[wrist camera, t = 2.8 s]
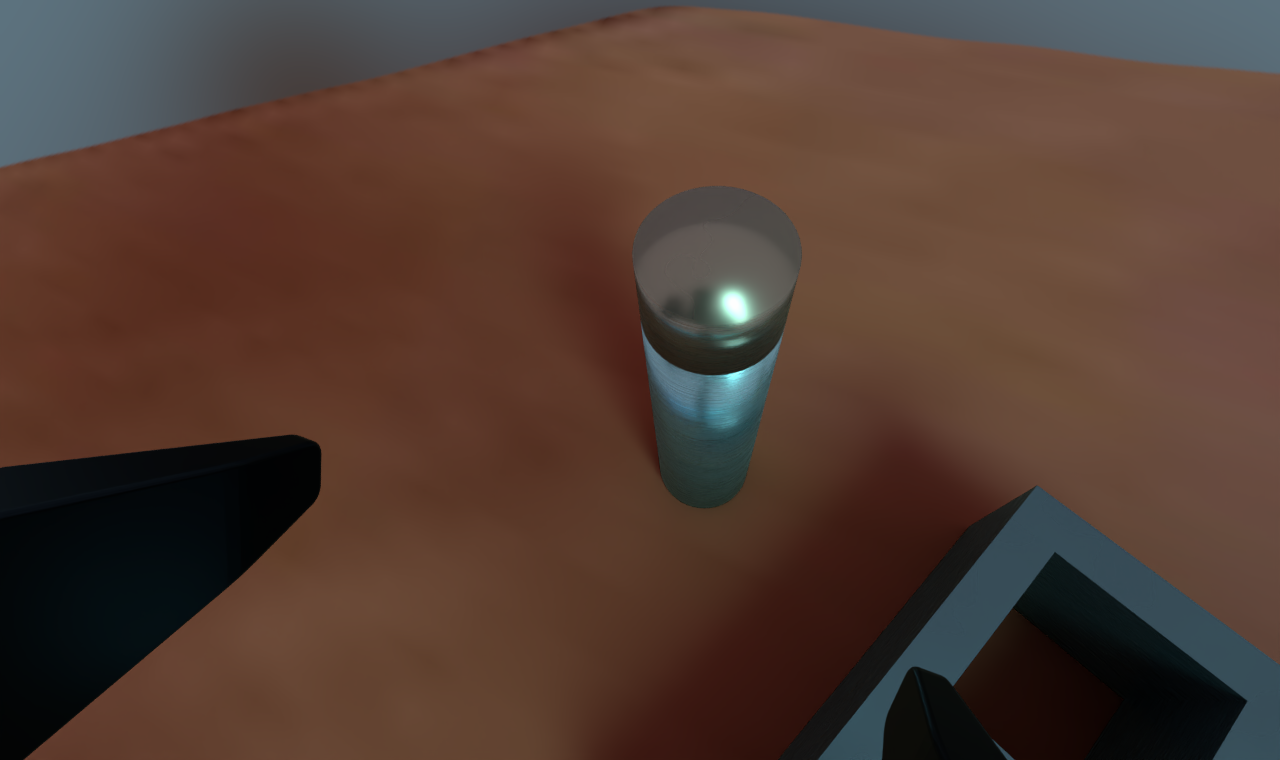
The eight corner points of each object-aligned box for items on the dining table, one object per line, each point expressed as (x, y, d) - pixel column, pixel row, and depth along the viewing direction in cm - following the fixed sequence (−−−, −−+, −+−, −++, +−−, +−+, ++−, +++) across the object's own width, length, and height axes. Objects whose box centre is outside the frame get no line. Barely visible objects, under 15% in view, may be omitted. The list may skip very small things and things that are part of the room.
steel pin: (705, 526, 21) (720, 354, 10) (642, 466, 22) (597, 253, 12) (765, 465, 22) (836, 246, 11) (701, 409, 23) (711, 161, 12)
